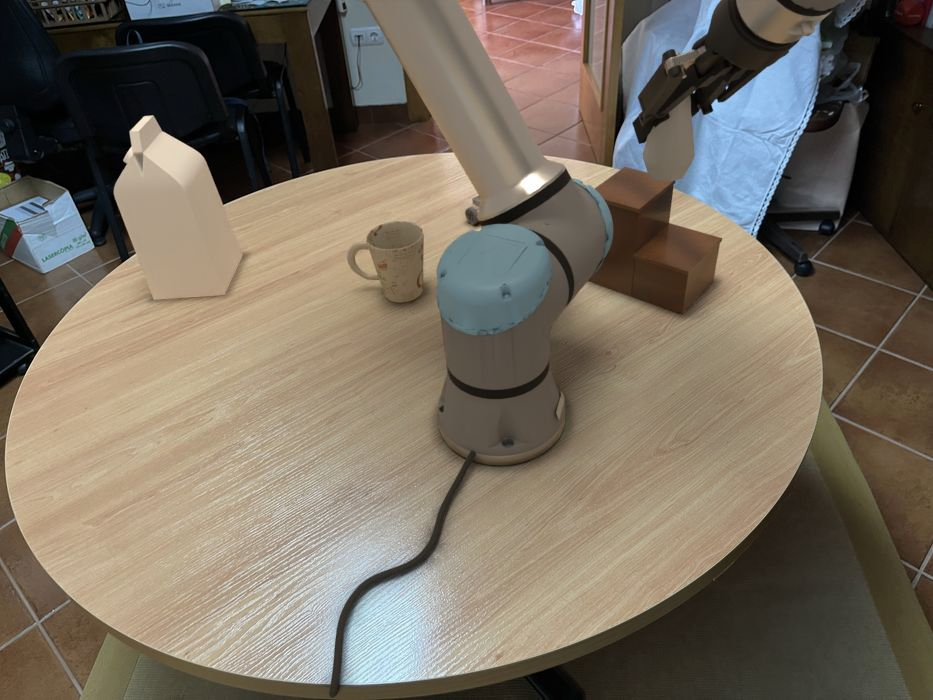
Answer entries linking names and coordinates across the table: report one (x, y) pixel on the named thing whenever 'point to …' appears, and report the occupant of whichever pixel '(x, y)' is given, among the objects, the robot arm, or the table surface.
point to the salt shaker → (671, 145)
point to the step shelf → (653, 245)
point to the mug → (394, 259)
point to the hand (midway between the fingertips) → (652, 129)
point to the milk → (175, 216)
